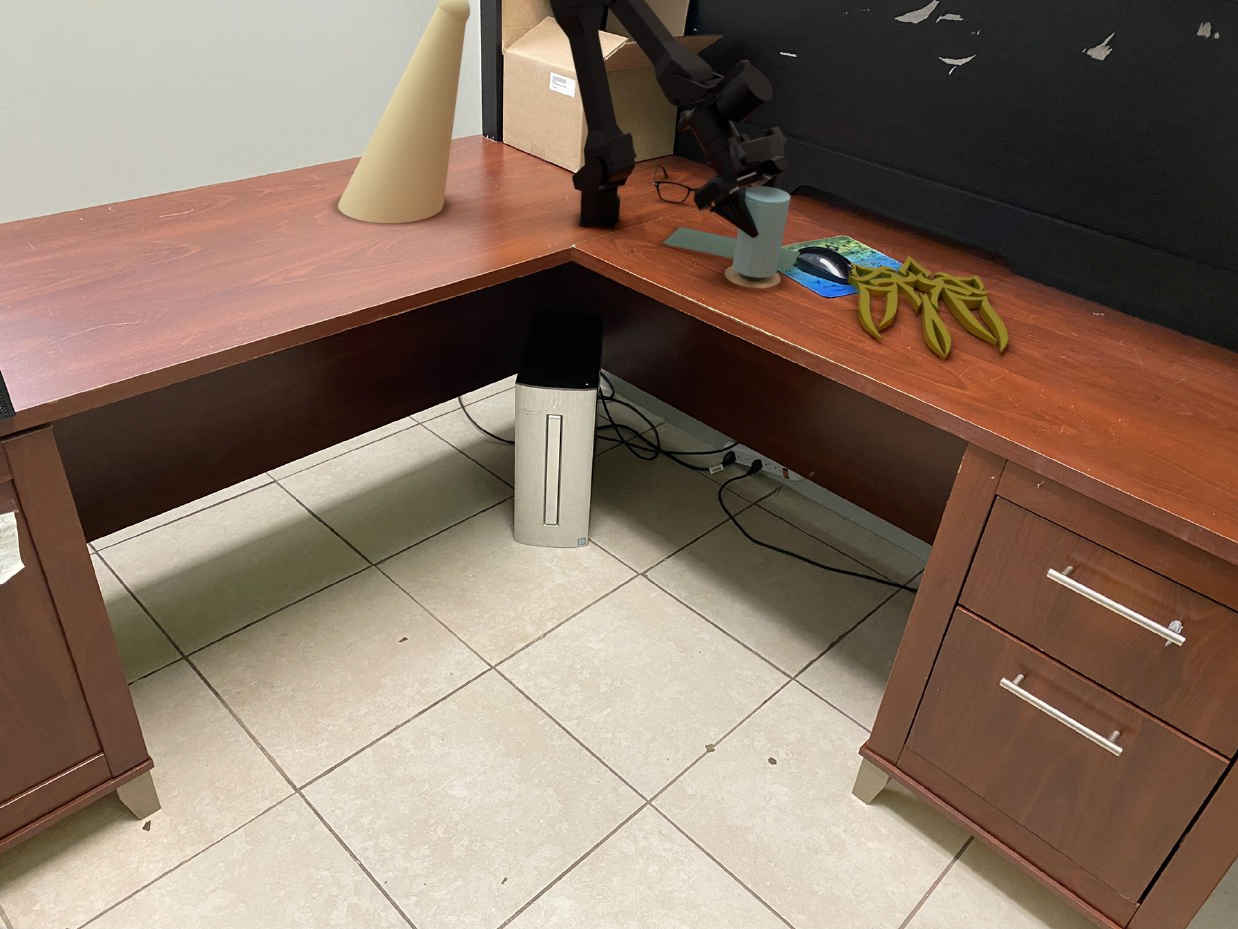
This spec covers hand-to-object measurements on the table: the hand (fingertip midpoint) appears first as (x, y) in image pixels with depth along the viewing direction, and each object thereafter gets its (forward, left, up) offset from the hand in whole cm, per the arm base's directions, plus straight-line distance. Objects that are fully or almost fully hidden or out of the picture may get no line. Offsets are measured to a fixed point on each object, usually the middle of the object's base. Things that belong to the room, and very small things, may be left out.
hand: (768, 230), depth 133 cm
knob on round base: (-1, +1, -8) cm, 8 cm away
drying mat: (-4, +12, -8) cm, 15 cm away
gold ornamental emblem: (+25, -5, -8) cm, 27 cm away
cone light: (-61, +21, -8) cm, 65 cm away
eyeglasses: (-9, +41, -8) cm, 42 cm away
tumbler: (-1, +1, -7) cm, 7 cm away
